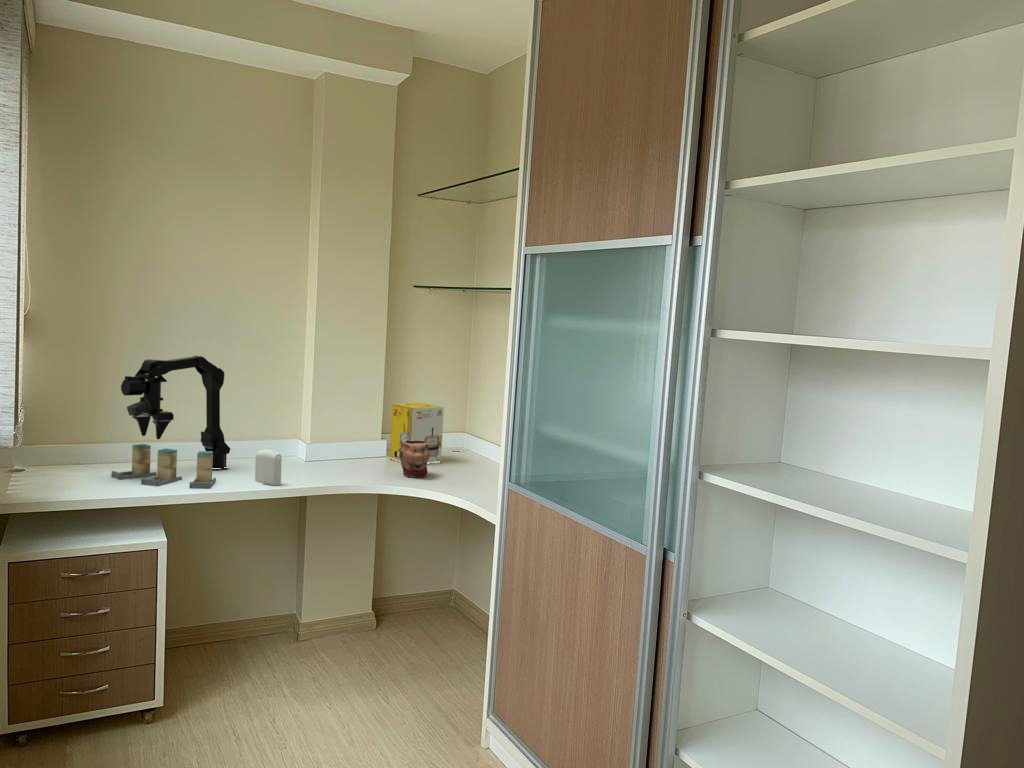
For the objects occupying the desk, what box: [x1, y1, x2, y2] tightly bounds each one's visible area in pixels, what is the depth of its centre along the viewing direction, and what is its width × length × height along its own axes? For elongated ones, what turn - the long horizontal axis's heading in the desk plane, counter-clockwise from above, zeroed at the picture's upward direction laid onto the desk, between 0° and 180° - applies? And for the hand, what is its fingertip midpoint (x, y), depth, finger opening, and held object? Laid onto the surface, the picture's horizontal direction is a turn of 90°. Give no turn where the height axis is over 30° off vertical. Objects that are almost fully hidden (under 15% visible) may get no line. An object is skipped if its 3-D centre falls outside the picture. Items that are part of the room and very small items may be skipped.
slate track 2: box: [140, 475, 183, 487], centre depth 288 cm, size 13×7×2 cm, turn 166°
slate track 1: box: [111, 470, 157, 481], centre depth 295 cm, size 13×7×2 cm, turn 140°
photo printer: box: [254, 449, 283, 486], centre depth 298 cm, size 10×4×12 cm, turn 63°
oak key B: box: [156, 448, 178, 481], centre depth 291 cm, size 4×4×11 cm
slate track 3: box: [189, 476, 217, 490], centre depth 288 cm, size 13×7×2 cm, turn 12°
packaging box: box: [389, 402, 445, 462], centre depth 360 cm, size 16×16×25 cm
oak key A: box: [131, 443, 152, 475], centre depth 297 cm, size 4×4×11 cm
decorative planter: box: [399, 441, 430, 478], centre depth 330 cm, size 20×12×14 cm, turn 24°
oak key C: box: [196, 450, 213, 482], centre depth 290 cm, size 4×4×11 cm
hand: (150, 437), depth 296 cm, fingers open, 9 cm apart
